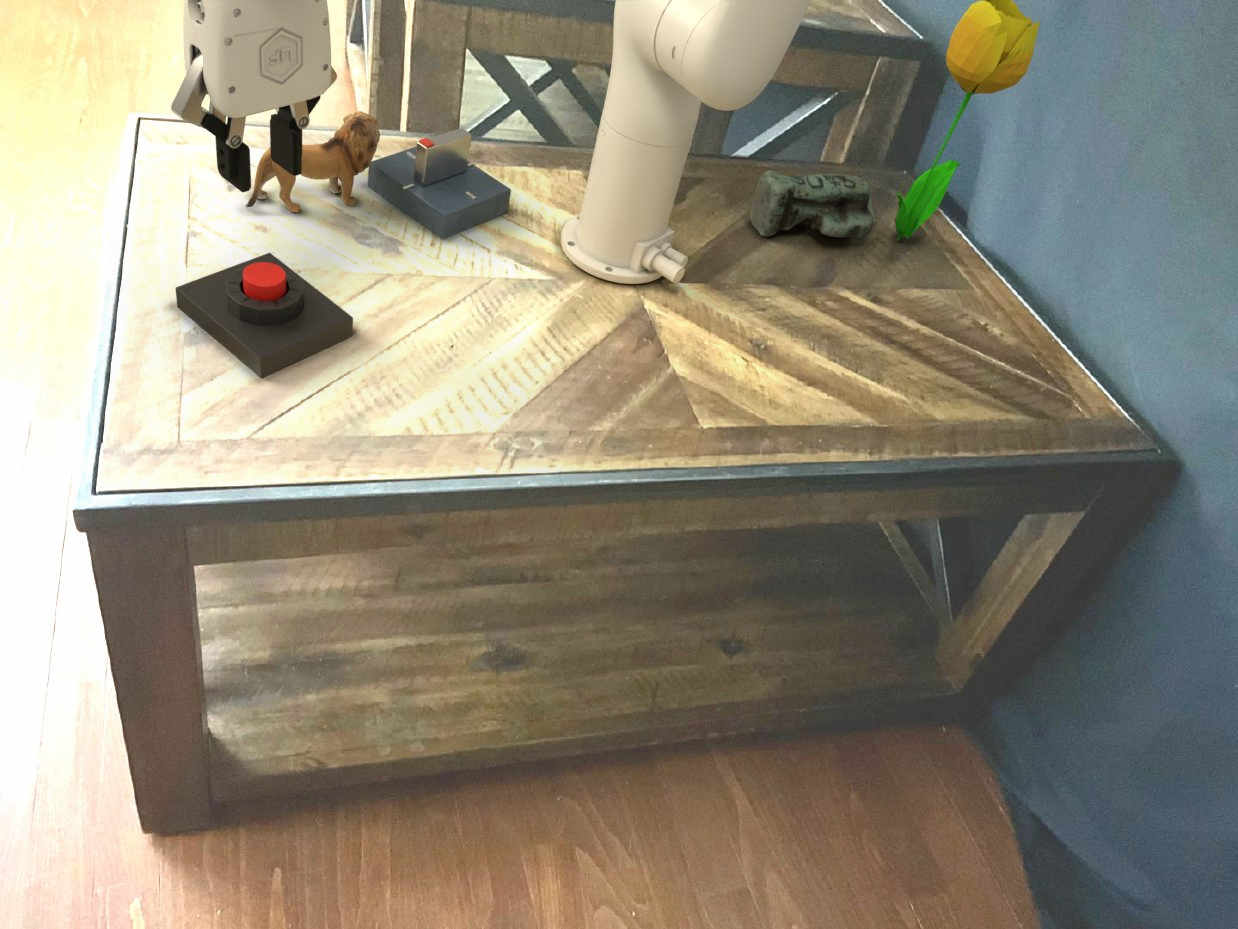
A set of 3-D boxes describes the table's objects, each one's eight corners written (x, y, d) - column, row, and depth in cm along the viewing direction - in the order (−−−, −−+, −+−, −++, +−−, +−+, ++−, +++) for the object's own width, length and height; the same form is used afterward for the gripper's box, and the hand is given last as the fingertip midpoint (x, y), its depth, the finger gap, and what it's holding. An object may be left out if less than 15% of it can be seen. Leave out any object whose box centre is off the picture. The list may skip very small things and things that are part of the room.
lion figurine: (362, 174, 114) (365, 99, 108) (387, 199, 112) (392, 124, 105) (235, 198, 106) (230, 118, 99) (258, 226, 103) (255, 145, 97)
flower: (884, 258, 126) (999, 17, 105) (856, 221, 131) (960, -16, 111) (941, 259, 129) (1064, 24, 108) (912, 222, 134) (1023, -8, 114)
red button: (294, 293, 92) (294, 277, 90) (260, 307, 89) (260, 291, 88) (269, 273, 93) (268, 257, 92) (234, 286, 90) (233, 270, 89)
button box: (352, 336, 95) (354, 301, 92) (261, 378, 88) (259, 342, 85) (270, 271, 99) (269, 236, 96) (177, 307, 92) (173, 270, 90)
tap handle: (457, 164, 114) (462, 125, 111) (467, 171, 113) (472, 132, 110) (413, 179, 110) (416, 139, 107) (423, 186, 109) (427, 146, 106)
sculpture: (817, 162, 132) (730, 197, 125) (850, 131, 125) (759, 166, 118) (863, 244, 131) (778, 283, 124) (899, 217, 124) (810, 257, 118)
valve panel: (510, 211, 115) (513, 187, 113) (440, 240, 108) (443, 215, 106) (436, 162, 119) (439, 137, 117) (364, 187, 112) (366, 161, 110)
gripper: (177, -21, 64) (197, 228, 76) (384, -53, 75) (372, 170, 87) (107, -68, 66) (138, 181, 79) (317, -93, 77) (315, 130, 90)
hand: (261, 173), depth 83 cm, fingers open, 4 cm apart
